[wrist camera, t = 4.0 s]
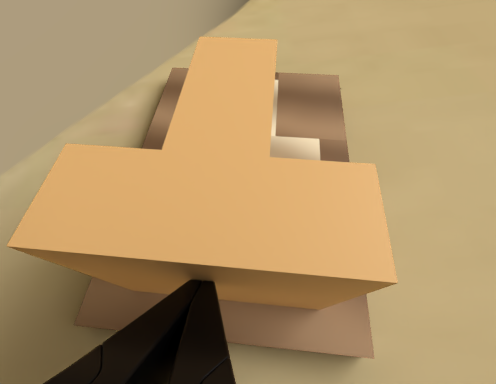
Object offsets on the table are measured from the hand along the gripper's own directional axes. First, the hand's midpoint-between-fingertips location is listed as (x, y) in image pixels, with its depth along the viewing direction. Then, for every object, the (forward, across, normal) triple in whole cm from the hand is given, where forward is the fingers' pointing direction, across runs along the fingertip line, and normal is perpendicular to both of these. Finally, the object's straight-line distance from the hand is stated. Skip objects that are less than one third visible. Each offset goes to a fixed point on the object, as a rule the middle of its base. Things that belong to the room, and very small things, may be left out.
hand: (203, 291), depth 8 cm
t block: (+8, 0, 0) cm, 8 cm away
